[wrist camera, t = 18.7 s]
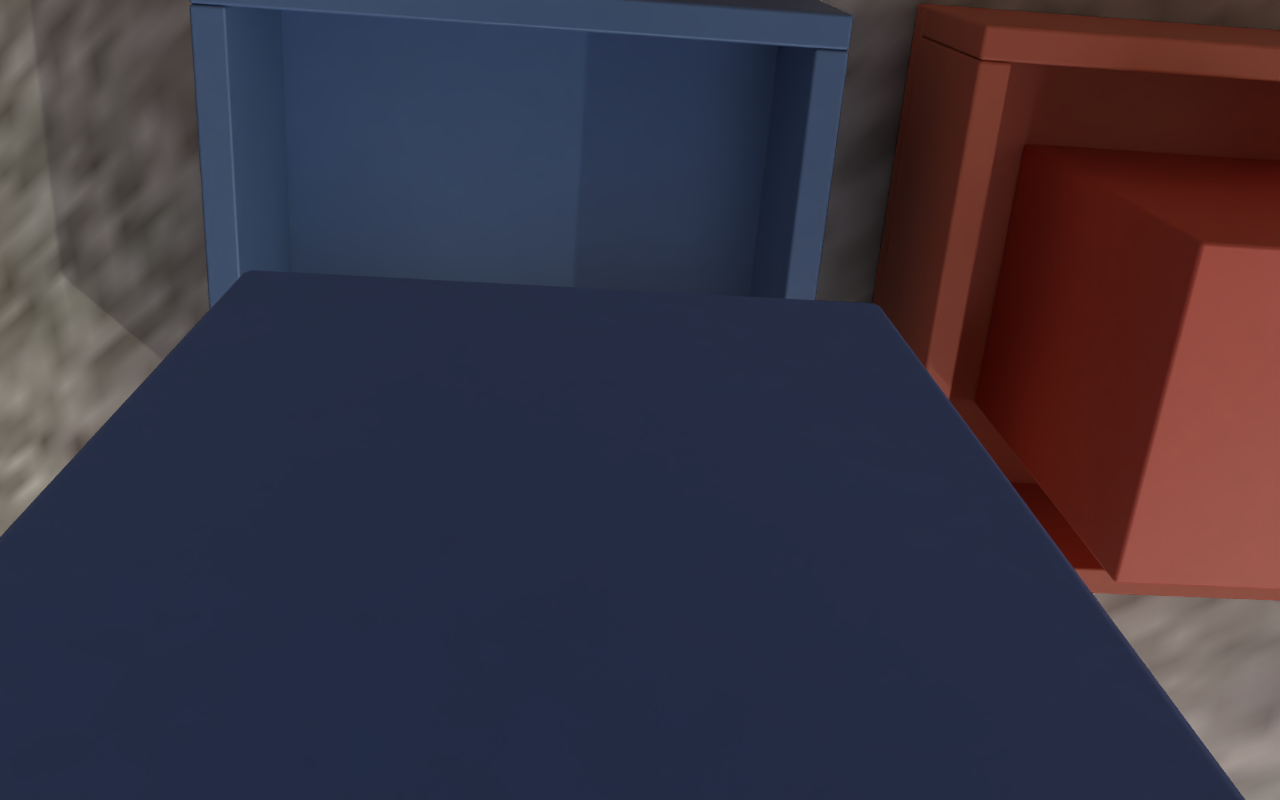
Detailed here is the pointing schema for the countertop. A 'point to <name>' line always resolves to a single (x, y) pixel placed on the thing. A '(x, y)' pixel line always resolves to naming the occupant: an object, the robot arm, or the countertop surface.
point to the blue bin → (521, 140)
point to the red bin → (990, 164)
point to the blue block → (556, 569)
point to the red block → (1146, 358)
